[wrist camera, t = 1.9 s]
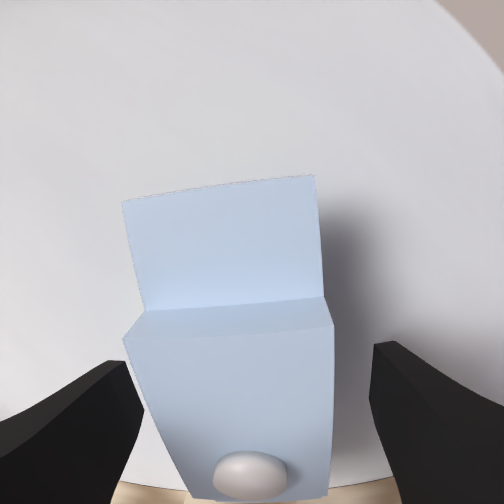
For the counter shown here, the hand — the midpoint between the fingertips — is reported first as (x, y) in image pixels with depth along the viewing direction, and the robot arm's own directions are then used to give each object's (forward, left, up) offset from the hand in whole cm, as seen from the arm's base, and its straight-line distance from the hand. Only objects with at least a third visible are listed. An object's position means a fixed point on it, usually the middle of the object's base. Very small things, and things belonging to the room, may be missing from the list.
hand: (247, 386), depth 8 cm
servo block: (0, 0, -2) cm, 2 cm away
